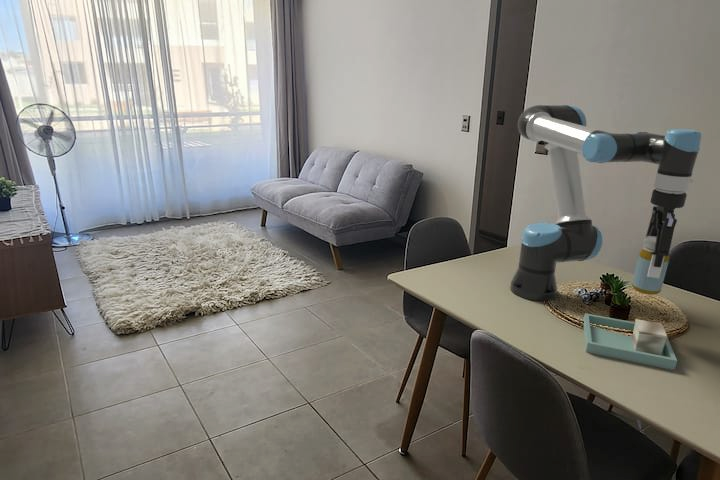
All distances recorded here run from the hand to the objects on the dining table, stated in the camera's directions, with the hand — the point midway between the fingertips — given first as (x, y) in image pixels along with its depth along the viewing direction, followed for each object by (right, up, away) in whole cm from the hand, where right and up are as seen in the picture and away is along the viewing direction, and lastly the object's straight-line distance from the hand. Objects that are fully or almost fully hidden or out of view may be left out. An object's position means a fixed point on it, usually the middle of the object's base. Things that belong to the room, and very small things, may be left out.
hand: (650, 271), depth 127 cm
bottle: (0, -5, +2) cm, 6 cm away
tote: (-8, -20, -2) cm, 22 cm away
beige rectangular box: (-3, -20, -4) cm, 21 cm away
